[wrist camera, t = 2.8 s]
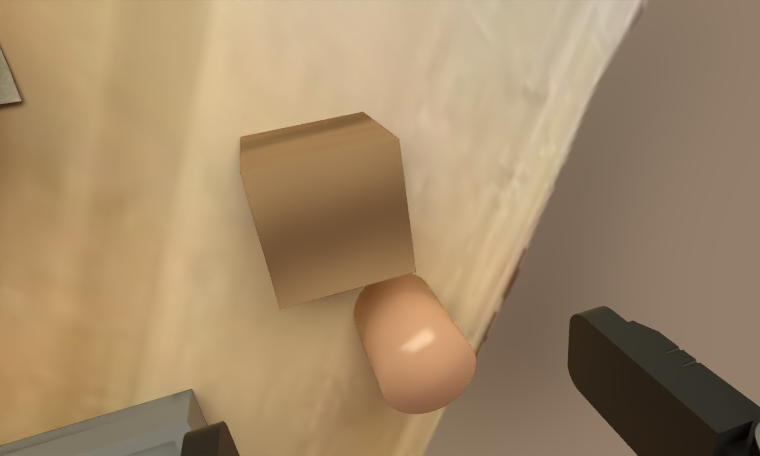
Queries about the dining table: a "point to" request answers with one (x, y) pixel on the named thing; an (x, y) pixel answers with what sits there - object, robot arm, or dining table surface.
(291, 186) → the walnut cube
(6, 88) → the condiment
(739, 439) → the robot arm
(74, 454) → the tray
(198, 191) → the dining table surface
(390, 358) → the peach rounded cylinder
